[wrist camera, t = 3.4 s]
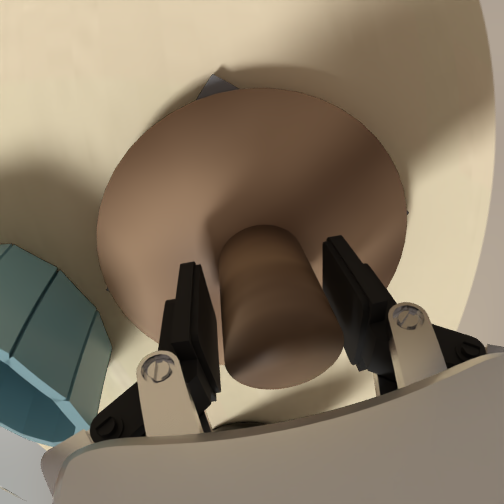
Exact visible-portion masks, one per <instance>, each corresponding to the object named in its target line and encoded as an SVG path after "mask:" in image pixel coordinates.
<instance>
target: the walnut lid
mask: <svg viewBox="0 0 504 504" xmlns="http://www.w3.org/2000/svg"><path fill="white" fill-rule="evenodd" d="M406 228H407V207H406V201H405V195H404V190H403V186H402V183H401V180H400V177H399V174H398V172H397V170H396V168H395V166H394V164H393V162H392V160H391V158H390V156H389V154H388V153H387V151H386V150H385V149H384V147H383V146H382V144H381V143H380V142H379V140H378V139H377V138H376V137H375V136H374V135H373V134H372V133H371V132H370V131H369V130H368V129H367V128H366V127H365V126H364V125H363V124H362V123H361V122H359V121H358V120H357V119H355V118H354V117H352V116H351V115H350V114H348V113H347V112H345V111H344V110H342V109H340V108H338V107H336V106H334V105H332V104H330V103H328V102H326V101H324V100H322V99H319V98H316V97H312V96H309V95H306V94H303V93H299V92H294V91H287V90H280V89H273V88H254V89H238V90H232V91H227V92H221V93H217V94H213V95H210V96H207V97H205V98H202V99H199V100H196V101H193V102H191V103H189V104H187V105H185V106H183V107H182V108H180V109H178V110H176V111H174V112H172V113H170V114H169V115H167V116H166V117H164V118H163V119H162V120H160V121H159V122H158V123H156V124H155V125H154V126H152V127H151V128H150V129H148V130H147V131H146V132H145V133H144V134H143V135H142V136H141V137H140V138H139V139H138V140H137V141H136V142H135V143H134V144H133V145H132V146H131V148H130V149H129V150H128V151H127V153H126V154H125V155H124V157H123V158H122V160H121V161H120V163H119V164H118V165H117V167H116V168H115V170H114V172H113V174H112V176H111V178H110V180H109V183H108V185H107V187H106V189H105V192H104V195H103V199H102V202H101V205H100V209H99V215H98V222H97V252H98V257H99V263H100V268H101V271H102V274H103V277H104V280H105V282H106V285H107V287H108V289H109V291H110V293H111V295H112V297H113V298H114V300H115V302H116V303H117V305H118V306H119V307H120V309H121V310H122V312H123V313H124V314H125V315H126V316H127V317H128V319H129V320H130V321H131V322H132V323H133V324H134V325H135V326H136V327H137V328H138V329H140V330H141V331H142V332H143V333H144V334H146V335H147V336H148V337H150V338H151V339H153V340H154V341H156V342H157V343H159V339H160V332H161V325H162V318H163V312H164V305H165V301H166V300H170V299H175V298H176V290H177V282H178V275H179V268H180V264H182V263H187V262H193V261H195V263H196V265H198V264H201V266H202V270H203V273H204V277H205V280H206V284H207V287H208V291H209V294H210V298H211V301H212V305H213V308H214V311H215V315H216V320H217V333H218V352H219V364H220V365H225V367H226V369H227V371H228V373H229V374H230V375H231V376H232V377H233V378H234V379H235V380H236V381H238V382H240V383H242V384H244V385H246V386H249V387H253V388H258V389H282V388H288V387H293V386H296V385H299V384H302V383H305V382H307V381H309V380H312V379H314V378H315V377H317V376H319V375H320V374H322V373H323V372H325V371H326V370H327V369H328V368H330V367H331V366H332V365H333V364H334V362H335V361H336V360H337V359H338V357H339V355H340V354H341V352H342V349H343V346H344V334H343V331H342V329H341V327H340V325H339V323H338V320H337V318H336V316H335V314H334V312H333V310H332V308H331V306H330V304H329V301H328V299H327V297H326V295H325V293H324V291H323V289H322V267H323V266H322V244H323V242H325V241H326V240H327V238H328V237H332V236H338V235H342V236H343V237H344V239H345V240H346V241H347V243H348V244H349V245H350V247H351V248H352V249H353V251H354V252H355V253H356V255H357V256H358V257H359V259H360V260H361V261H362V263H363V264H364V263H367V264H368V265H369V266H370V267H371V268H372V270H373V271H374V272H375V274H376V275H377V277H378V278H379V279H380V281H381V282H382V283H383V285H384V286H385V288H387V287H388V285H389V283H390V281H391V279H392V278H393V276H394V274H395V272H396V269H397V266H398V264H399V261H400V259H401V255H402V251H403V247H404V243H405V237H406Z"/></svg>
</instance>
